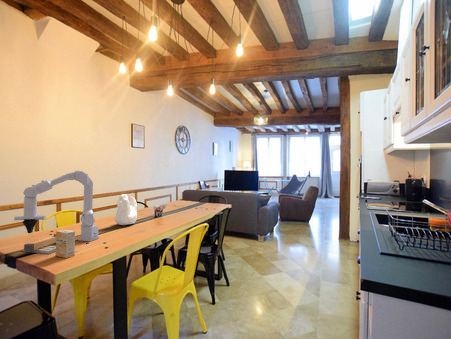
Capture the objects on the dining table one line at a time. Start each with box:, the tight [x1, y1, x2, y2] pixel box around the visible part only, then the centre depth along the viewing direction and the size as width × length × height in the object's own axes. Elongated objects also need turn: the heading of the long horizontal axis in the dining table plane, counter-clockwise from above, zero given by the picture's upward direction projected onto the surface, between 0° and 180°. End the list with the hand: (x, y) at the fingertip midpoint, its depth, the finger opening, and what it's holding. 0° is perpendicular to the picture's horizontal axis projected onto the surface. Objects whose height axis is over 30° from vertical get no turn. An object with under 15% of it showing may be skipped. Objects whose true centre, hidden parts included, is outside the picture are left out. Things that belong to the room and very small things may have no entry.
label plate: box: [21, 244, 56, 255], centre depth 134 cm, size 18×12×1 cm, turn 78°
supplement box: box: [55, 228, 76, 259], centre depth 125 cm, size 8×5×13 cm, turn 69°
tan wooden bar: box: [23, 233, 56, 251], centre depth 135 cm, size 18×4×5 cm, turn 168°
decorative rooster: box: [114, 193, 139, 226], centre depth 197 cm, size 25×16×25 cm, turn 159°
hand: (30, 232), depth 135 cm, fingers closed
